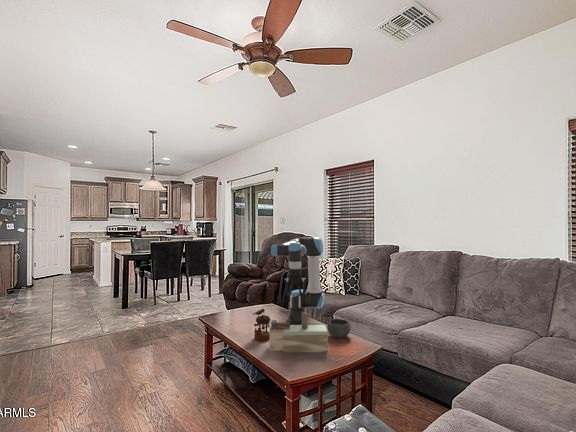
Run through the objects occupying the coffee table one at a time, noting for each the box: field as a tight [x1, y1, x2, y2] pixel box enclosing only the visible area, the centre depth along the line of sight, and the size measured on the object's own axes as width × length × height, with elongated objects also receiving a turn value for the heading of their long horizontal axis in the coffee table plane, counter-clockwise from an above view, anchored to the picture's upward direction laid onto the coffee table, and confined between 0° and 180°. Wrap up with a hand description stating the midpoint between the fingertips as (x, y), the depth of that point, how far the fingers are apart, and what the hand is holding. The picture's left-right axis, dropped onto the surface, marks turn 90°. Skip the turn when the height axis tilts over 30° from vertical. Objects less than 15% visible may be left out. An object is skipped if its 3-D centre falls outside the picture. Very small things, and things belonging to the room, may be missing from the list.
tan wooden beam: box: [276, 321, 291, 329], centre depth 192 cm, size 2×10×3 cm, turn 91°
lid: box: [283, 311, 329, 335], centre depth 192 cm, size 12×26×11 cm, turn 91°
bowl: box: [327, 318, 351, 339], centre depth 211 cm, size 15×15×10 cm
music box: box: [252, 308, 271, 343], centre depth 209 cm, size 15×11×20 cm
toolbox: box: [269, 319, 329, 354], centre depth 192 cm, size 12×34×16 cm, turn 91°
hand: (295, 306), depth 192 cm, fingers open, 4 cm apart
